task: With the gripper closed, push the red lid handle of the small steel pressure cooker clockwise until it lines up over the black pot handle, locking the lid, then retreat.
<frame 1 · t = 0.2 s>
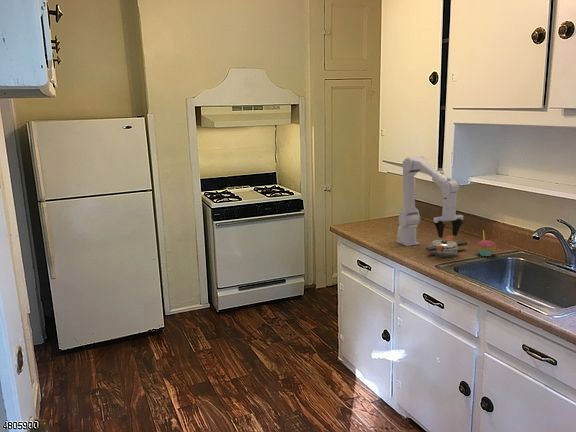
hand: (447, 236, 221), 10 cm above the counter, tool pointing down, fingers open, 7 cm apart
cupcake: (485, 255, 225), on the counter
lid: (445, 242, 229), point 5 cm above the counter, hinge at 35.0°
pot: (443, 253, 229), on the counter
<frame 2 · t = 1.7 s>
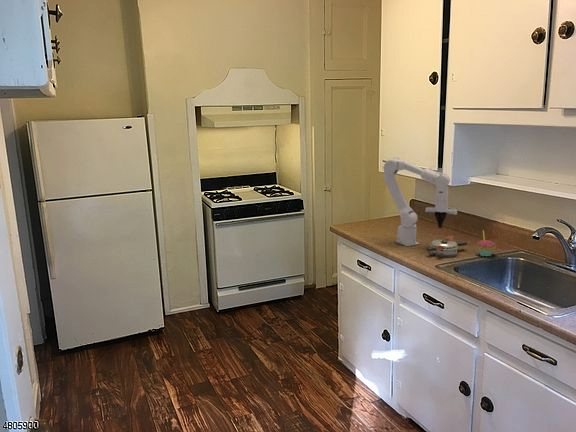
hand: (440, 227, 236), 10 cm above the counter, tool pointing down, fingers closed
nothing on the counter moved.
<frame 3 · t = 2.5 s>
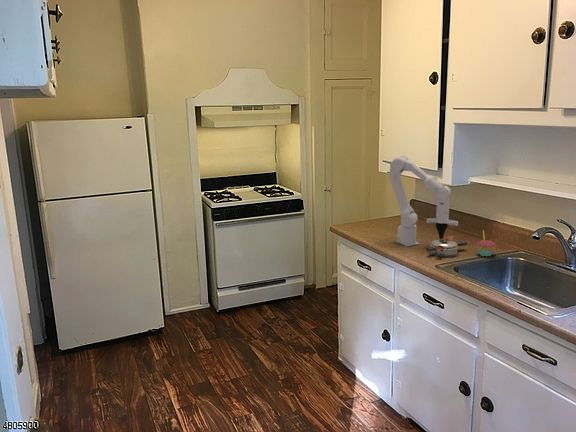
hand: (441, 238, 237), 5 cm above the counter, tool pointing down, fingers closed
nothing on the counter moved.
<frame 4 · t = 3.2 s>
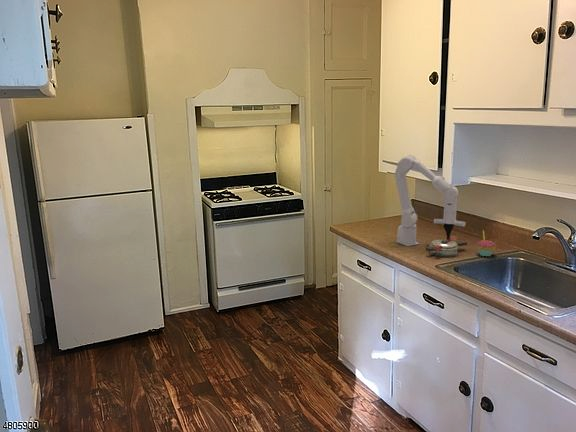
hand: (448, 239, 236), 4 cm above the counter, tool pointing down, fingers closed, pressing on lid
lid: (445, 242, 229), point 5 cm above the counter, hinge at 26.6°, touching gripper
everything else where it was.
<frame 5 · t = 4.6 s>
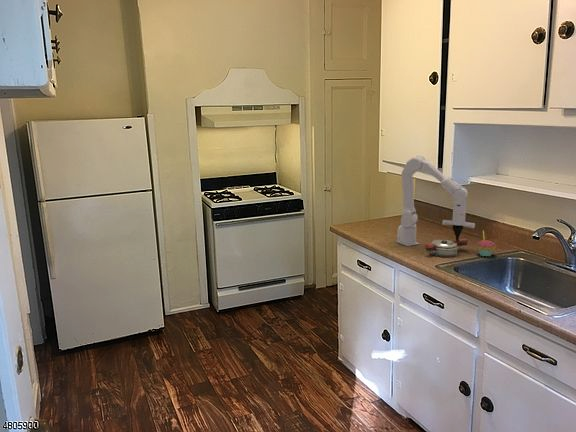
hand: (457, 240, 233), 4 cm above the counter, tool pointing down, fingers closed, pressing on lid
lid: (447, 242, 228), point 5 cm above the counter, hinge at -2.6°, touching gripper
everything else where it was.
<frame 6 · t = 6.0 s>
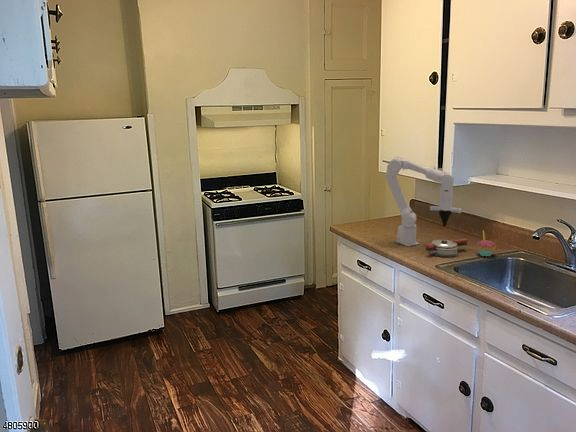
hand: (444, 225, 238), 10 cm above the counter, tool pointing down, fingers closed
lid: (447, 242, 228), point 5 cm above the counter, hinge at -3.1°
everything else where it was.
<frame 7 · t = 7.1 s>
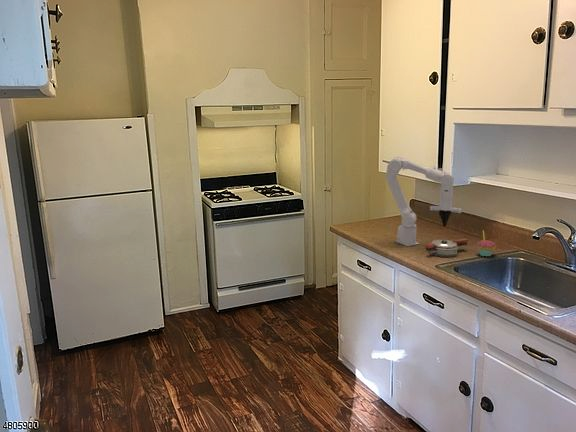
hand: (444, 225, 238), 10 cm above the counter, tool pointing down, fingers closed
nothing on the counter moved.
at the end: lid at -3° (first picture: +35°) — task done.
